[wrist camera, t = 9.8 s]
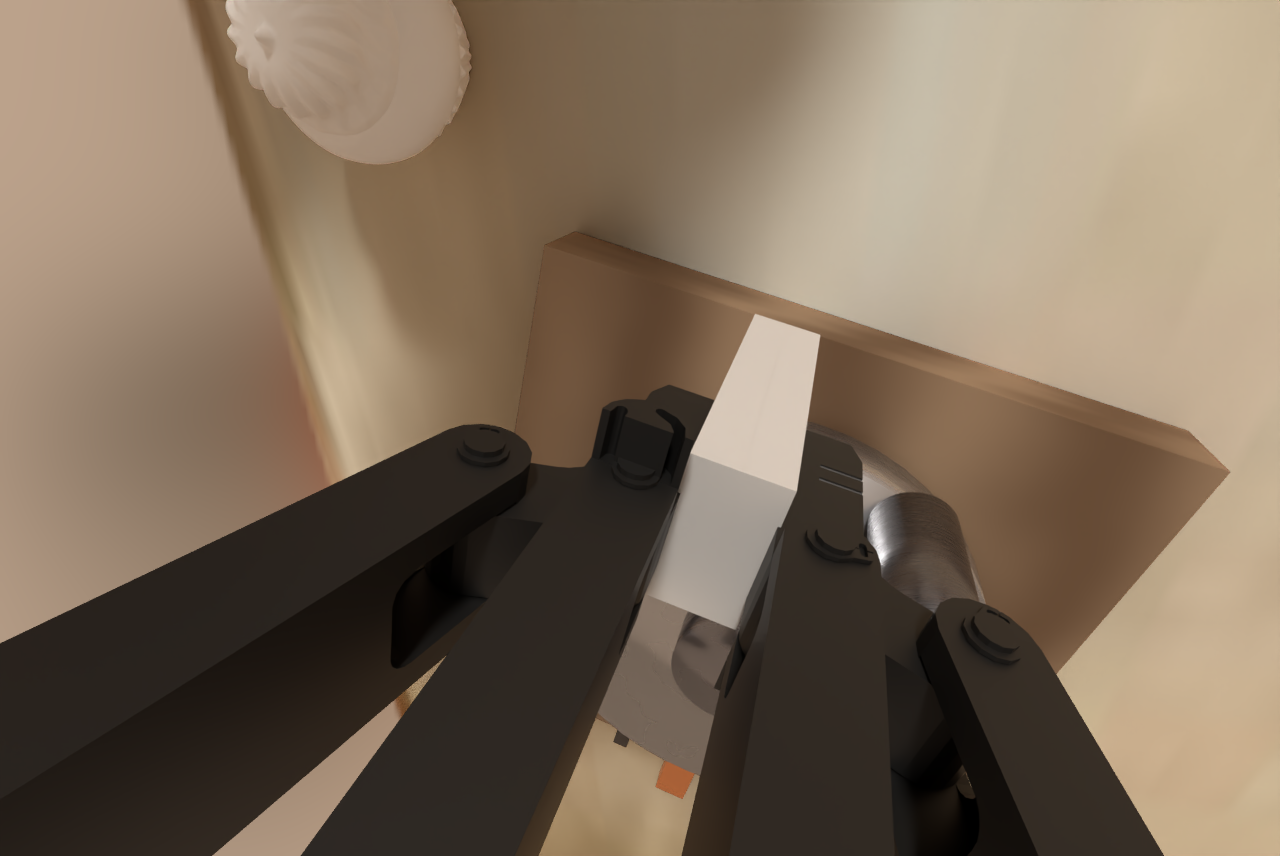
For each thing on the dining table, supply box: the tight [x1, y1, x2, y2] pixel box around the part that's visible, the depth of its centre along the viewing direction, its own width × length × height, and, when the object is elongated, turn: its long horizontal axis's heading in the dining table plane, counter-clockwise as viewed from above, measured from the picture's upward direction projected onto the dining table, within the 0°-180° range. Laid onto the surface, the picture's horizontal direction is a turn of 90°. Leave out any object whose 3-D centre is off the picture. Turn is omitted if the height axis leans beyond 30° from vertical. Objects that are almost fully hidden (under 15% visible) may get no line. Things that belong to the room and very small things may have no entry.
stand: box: [515, 232, 1230, 777], centre depth 24 cm, size 20×20×3 cm
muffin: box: [225, 0, 472, 164], centre depth 18 cm, size 6×6×7 cm
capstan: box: [598, 421, 986, 799], centre depth 20 cm, size 16×15×8 cm
